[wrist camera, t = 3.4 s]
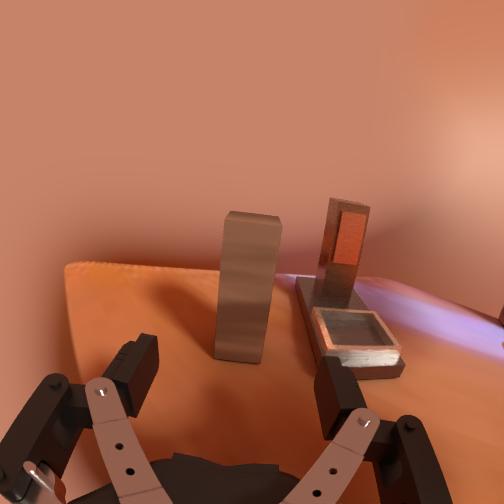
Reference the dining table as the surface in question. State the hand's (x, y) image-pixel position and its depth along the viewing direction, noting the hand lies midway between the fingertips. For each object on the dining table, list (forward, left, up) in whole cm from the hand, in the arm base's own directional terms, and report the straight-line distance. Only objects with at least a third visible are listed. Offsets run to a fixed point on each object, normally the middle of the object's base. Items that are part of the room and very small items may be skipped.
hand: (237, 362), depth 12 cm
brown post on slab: (-5, -20, -7) cm, 21 cm away
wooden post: (+4, -10, -7) cm, 13 cm away
